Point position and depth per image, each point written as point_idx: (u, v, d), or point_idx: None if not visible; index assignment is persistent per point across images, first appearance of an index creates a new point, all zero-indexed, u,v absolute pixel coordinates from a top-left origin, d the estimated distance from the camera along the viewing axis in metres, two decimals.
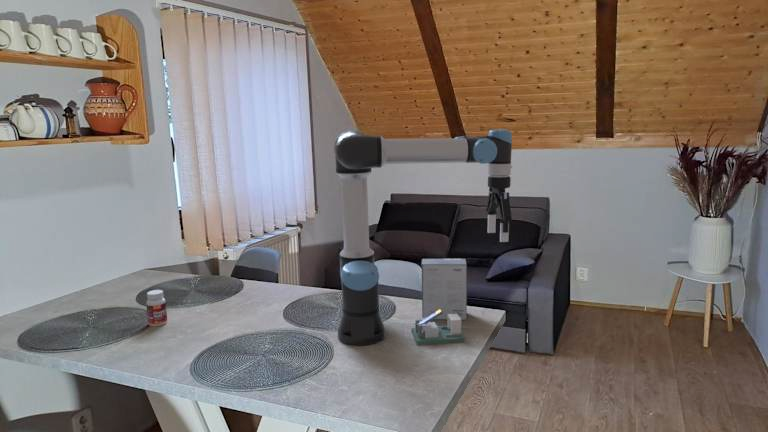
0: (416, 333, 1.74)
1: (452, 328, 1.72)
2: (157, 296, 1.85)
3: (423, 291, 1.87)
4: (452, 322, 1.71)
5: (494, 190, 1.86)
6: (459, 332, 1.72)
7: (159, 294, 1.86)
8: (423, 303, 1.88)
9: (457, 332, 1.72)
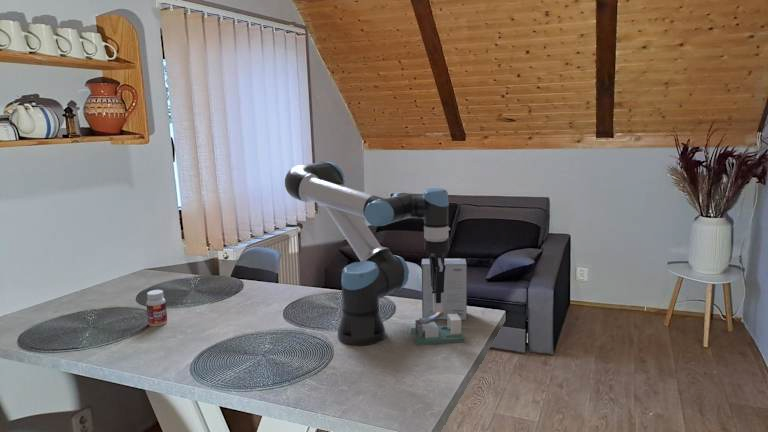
0: (416, 333, 1.74)
1: (452, 328, 1.72)
2: (157, 296, 1.85)
3: (423, 291, 1.87)
4: (452, 322, 1.71)
5: None
6: (459, 332, 1.72)
7: (159, 294, 1.86)
8: (423, 303, 1.88)
9: (457, 332, 1.72)
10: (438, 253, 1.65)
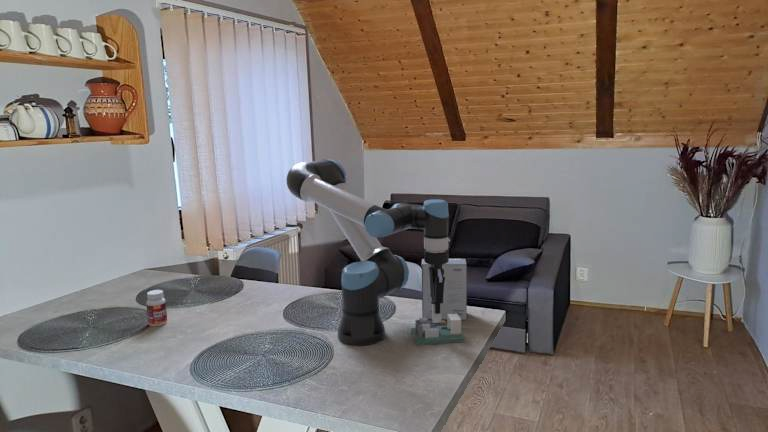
0: (416, 333, 1.74)
1: (452, 328, 1.72)
2: (157, 296, 1.85)
3: (423, 291, 1.87)
4: (452, 322, 1.71)
5: None
6: (459, 332, 1.72)
7: (159, 294, 1.86)
8: (423, 303, 1.88)
9: (457, 332, 1.72)
10: (438, 264, 1.66)
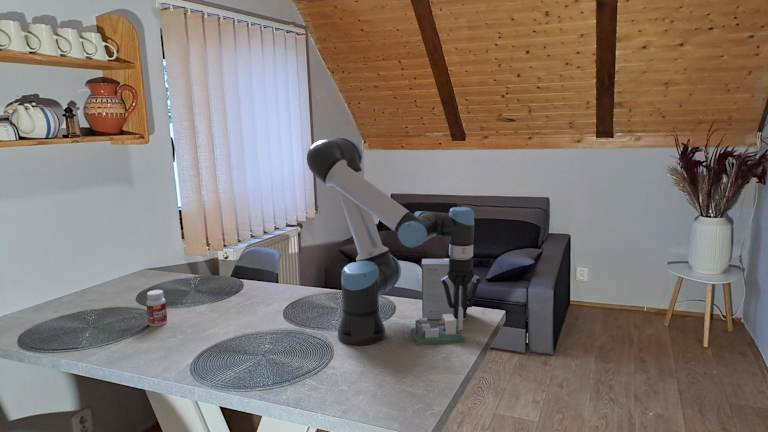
0: (416, 333, 1.74)
1: (447, 328, 1.71)
2: (157, 296, 1.85)
3: (423, 291, 1.87)
4: (447, 322, 1.71)
5: None
6: (453, 333, 1.72)
7: (160, 294, 1.86)
8: (423, 303, 1.88)
9: (452, 332, 1.72)
10: (449, 268, 1.71)
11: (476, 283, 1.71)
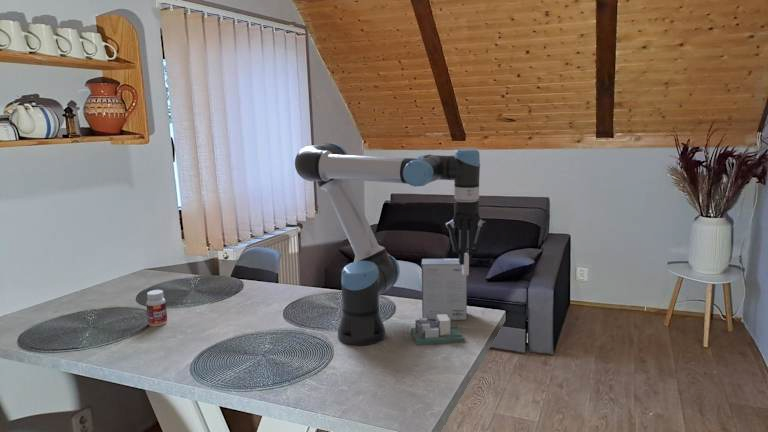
0: (416, 333, 1.74)
1: (441, 329, 1.71)
2: (157, 296, 1.85)
3: (423, 291, 1.87)
4: (441, 323, 1.71)
5: None
6: (448, 333, 1.72)
7: (159, 294, 1.86)
8: (423, 303, 1.88)
9: (446, 333, 1.72)
10: (454, 212, 1.68)
11: (482, 227, 1.68)
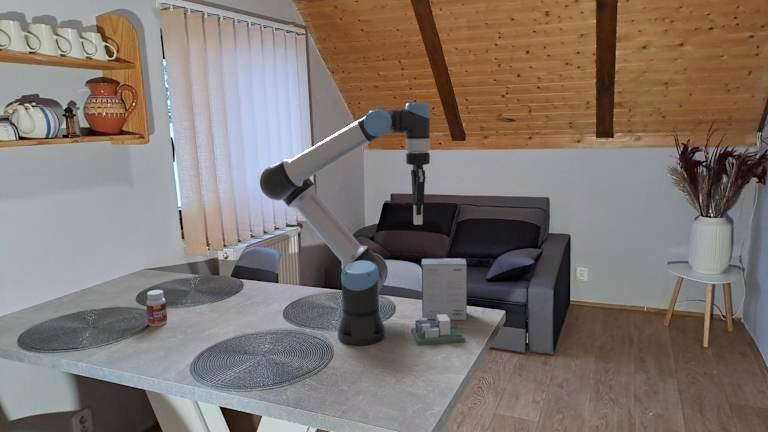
0: (416, 333, 1.74)
1: (441, 329, 1.71)
2: (157, 296, 1.85)
3: (423, 291, 1.87)
4: (441, 323, 1.71)
5: None
6: (448, 333, 1.72)
7: (159, 294, 1.86)
8: (423, 303, 1.88)
9: (446, 333, 1.72)
10: (419, 164, 1.72)
11: None
